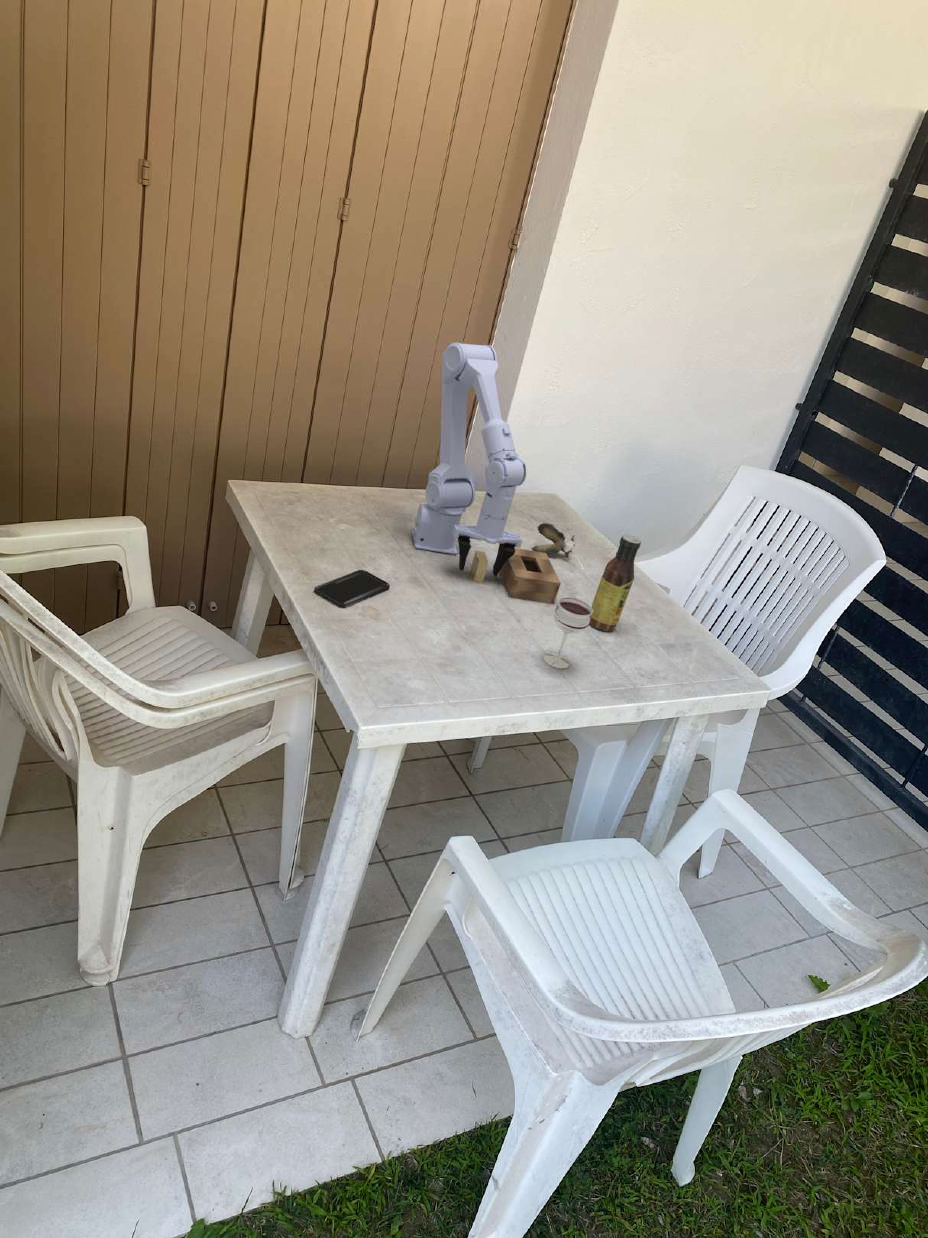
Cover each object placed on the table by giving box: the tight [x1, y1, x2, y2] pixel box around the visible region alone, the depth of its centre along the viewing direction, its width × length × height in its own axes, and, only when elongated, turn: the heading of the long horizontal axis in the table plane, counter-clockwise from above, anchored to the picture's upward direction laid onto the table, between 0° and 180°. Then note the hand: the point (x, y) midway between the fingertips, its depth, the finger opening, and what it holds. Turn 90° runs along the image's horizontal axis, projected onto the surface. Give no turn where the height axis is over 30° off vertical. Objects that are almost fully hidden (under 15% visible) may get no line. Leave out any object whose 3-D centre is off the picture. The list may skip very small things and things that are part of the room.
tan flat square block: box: [469, 550, 489, 584], centre depth 197 cm, size 2×5×5 cm, turn 8°
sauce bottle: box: [589, 534, 642, 632], centre depth 188 cm, size 6×6×20 cm
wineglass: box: [543, 596, 593, 669], centre depth 172 cm, size 7×7×12 cm
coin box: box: [499, 547, 562, 605], centre depth 200 cm, size 10×14×5 cm
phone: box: [313, 569, 391, 609], centre depth 180 cm, size 8×1×15 cm
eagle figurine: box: [531, 522, 576, 559], centre depth 218 cm, size 8×7×9 cm
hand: (477, 571), depth 197 cm, fingers open, 7 cm apart
